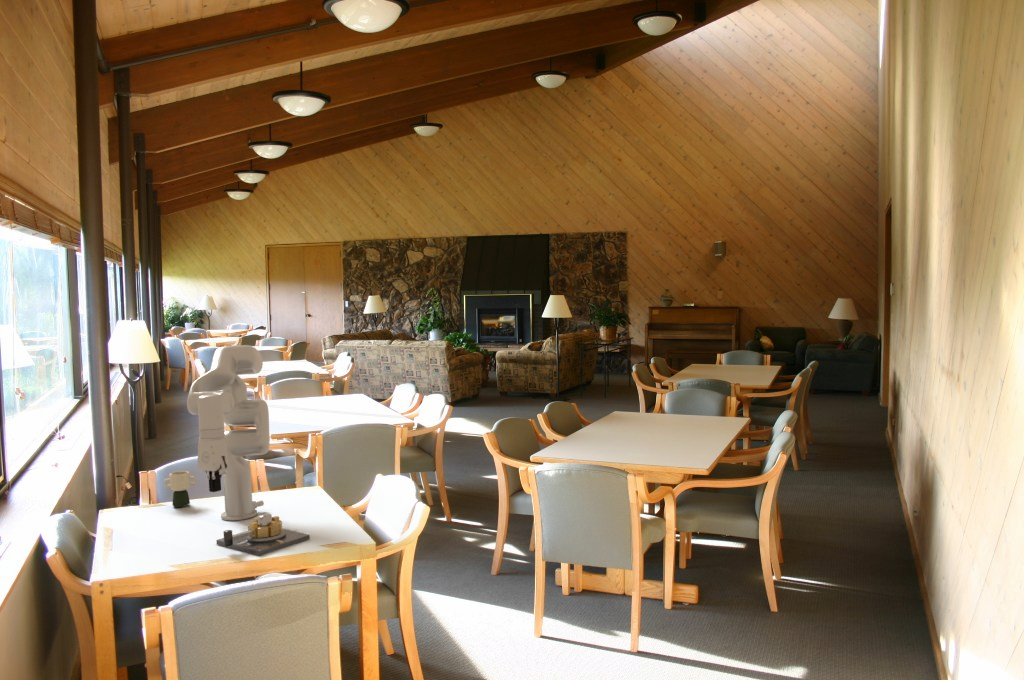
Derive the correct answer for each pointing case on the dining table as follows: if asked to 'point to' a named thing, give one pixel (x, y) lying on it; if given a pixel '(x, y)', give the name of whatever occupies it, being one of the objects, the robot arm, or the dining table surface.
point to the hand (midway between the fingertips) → (215, 490)
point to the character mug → (180, 487)
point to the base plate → (266, 539)
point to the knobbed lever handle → (255, 531)
